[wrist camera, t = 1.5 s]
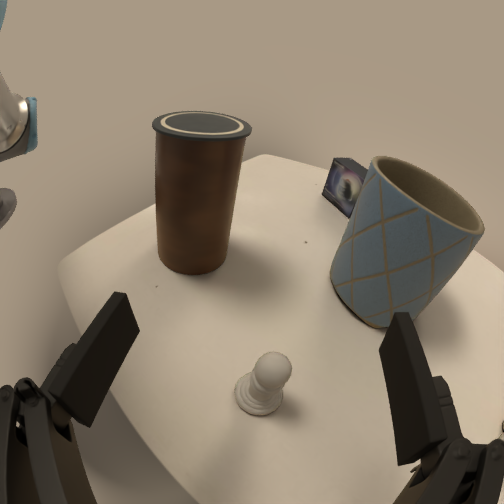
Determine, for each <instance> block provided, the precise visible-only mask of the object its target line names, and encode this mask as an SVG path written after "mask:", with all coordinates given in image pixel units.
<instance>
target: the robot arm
mask: <svg viewBox="0 0 504 504" xmlns="http://www.w3.org/2000/svg"><path fill="white" fill-rule="evenodd" d="M6 6H7V0H0V30H1V27H2V24H3V20H4V16H5V11H6ZM36 102H37V100H36V98H35V97H31V98H30V97H27V98H26V99H23V98H22V97H21V96H20V95H18V94H16V93H11V92H10V90H9V88H8V86H7V84H6V83H5V80H4V78H3V76H2V74H1V72H0V162H2V161H4V160H7V159H10V158H13V157H16V156H19V155H22V154H26V153H27V152H30V151H32V150H34V149H35V148H36V147H37V109H36V108H37V103H36ZM1 206H2V198H1V194H0V208H1ZM139 332H140V330H139V327H138V324H137V322H136V319H135V317H134V314H133V311H132V308H131V306H130V303H129V300H128V297H127V294H126V293H121V292H114V293H113V294H112V295H111V297H110V298H109V299H108V301H107V302H106V303H105V305H104V306H103V307H102V309H101V310H100V312H99V313H98V314H97V316H96V317H95V318H94V320H93V321H92V323H91V324H90V325H89V327H88V328H87V330H86V331H85V333H84V334H83V335H82V337H81V338H80V340H79V341H78V343H77V344H74V343H72V344H71V345H70V346H68V347H67V348H66V349H65V350H64V352H63V353H62V354H61V356H60V359H58V361H57V362H56V365H54V367H53V368H52V370H51V371H50V373H49V374H48V376H47V378H46V379H45V381H44V382H43V384H42V386H41V387H40V388H38V387H37V385H36V384H35V383H34V382H33V381H32V380H31V379H30V378H22V379H20V380H19V381H18V382H17V383H16V385H15V386H14V389H13V388H12V387H11V386H10V385H4V386H3V387H1V388H0V504H97V502H96V500H95V497H94V495H93V492H92V490H91V487H90V484H89V481H88V478H87V475H86V472H85V469H84V466H83V463H82V459H81V456H80V453H79V449H78V445H77V441H76V437H75V433H74V429H73V424H72V422H71V420H70V419H71V417H73V418H74V419H75V420H76V421H77V422H79V423H81V424H83V425H85V426H87V427H89V428H90V427H91V425H92V423H93V421H94V418H95V416H96V414H97V412H98V410H99V408H100V406H101V404H102V402H103V400H104V398H105V395H106V394H107V392H108V390H109V388H110V386H111V384H112V382H113V380H114V378H115V376H116V374H117V372H118V370H119V369H120V367H121V365H122V363H123V361H124V359H125V357H126V355H127V354H128V352H129V350H130V348H131V346H132V344H133V343H134V341H135V339H136V337H137V335H138V334H139ZM379 354H380V358H381V362H382V367H383V372H384V377H385V382H386V387H387V392H388V398H389V403H390V409H391V415H392V422H393V429H394V436H395V444H396V453H397V462H398V466H401V465H406V464H410V463H414V462H416V461H417V460H419V459H420V460H421V464H419V465H418V466H416V467H415V468H413V469H412V470H411V471H410V472H411V473H412V472H414V471H415V473H414V474H413V476H412V477H411V479H410V480H409V482H408V483H407V485H406V486H405V488H404V489H403V491H402V492H401V493H400V495H399V496H398V497H397V499H396V500H395V502H394V503H393V504H497V503H498V500H499V496H500V492H501V487H502V483H503V478H504V441H503V440H501V439H495V440H493V441H492V442H491V443H489V444H472V443H471V442H470V441H469V440H468V439H467V438H464V437H463V435H462V433H461V429H460V425H459V421H458V417H457V413H456V410H455V406H454V405H453V399H452V397H451V393H450V390H449V386H448V384H447V383H446V381H445V380H444V379H443V377H442V376H436V377H432V375H431V372H430V369H429V366H428V363H427V360H426V357H425V354H424V351H423V348H422V345H421V343H420V340H419V337H418V335H417V332H416V329H415V327H414V324H413V322H412V319H411V317H410V314H409V312H395V313H394V315H393V318H392V320H391V323H390V325H389V328H388V330H387V332H386V335H385V337H384V339H383V342H382V344H381V346H380V348H379ZM16 422H19V423H20V426H19V427H17V426H16Z"/></svg>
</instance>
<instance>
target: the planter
mask: <svg viewBox="0 0 504 504" xmlns="http://www.w3.org/2000/svg"><path fill="white" fill-rule="evenodd" d="M484 230H485V228H484V224H483V222H482V220H481V218H480V216H479V215H478V214H477V212H476V211H475V210H474V208H473V207H472V206H471V205H470V204H469V203H468V202H467V201H466V200H465V199H464V198H463V197H462V196H461V195H460V194H458V193H457V192H456V191H455V190H454V189H452V188H451V187H449V186H448V185H447V184H445V183H444V182H443V181H441V180H440V179H438V178H437V177H435V176H433V175H432V174H430V173H428V172H426V171H425V170H423V169H421V168H419V167H417V166H414V165H412V164H410V163H407V162H405V161H402V160H399V159H396V158H392V157H387V156H376V157H374V158H373V159H372V161H371V163H370V166H369V169H368V172H367V175H366V177H365V180H364V183H363V185H362V188H361V191H360V193H359V196H358V199H357V201H356V204H355V207H354V209H353V212H352V215H351V217H350V220H349V223H348V225H347V228H346V230H345V233H344V235H343V238H342V240H341V242H340V245H339V247H338V250H337V252H336V254H335V257H334V259H333V262H332V266H331V269H330V278H331V281H332V283H333V285H334V287H335V289H336V291H337V293H338V294H339V296H340V297H341V299H342V300H343V301H344V303H345V304H346V305H347V306H348V307H349V308H350V309H351V310H352V311H353V312H354V313H355V314H356V315H357V316H358V317H360V318H361V319H362V320H363V321H364V322H366V323H367V324H368V325H370V326H372V327H374V328H381V327H389V325H390V323H391V320H392V318H393V315H394V313H395V312H409V314H410V317H411V319H412V321H413V320H414V319H415V318H416V317H417V316H418V315H419V314H420V313H421V312H422V311H423V310H424V308H425V307H426V306H427V305H428V304H429V303H430V302H431V301H432V300H433V299H434V297H435V296H436V295H437V294H438V293H439V292H440V290H441V289H442V288H443V287H444V286H445V285H446V284H447V282H448V281H449V280H450V279H451V278H452V276H453V275H454V274H455V273H456V271H457V270H458V269H459V267H460V266H461V265H462V263H463V262H464V261H465V259H466V258H467V257H468V255H469V254H470V253H471V251H472V250H473V248H474V247H475V245H476V244H477V243H478V241H479V240H480V238H481V237H482V235H483V233H484Z"/></svg>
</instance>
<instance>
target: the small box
mask: <svg viewBox="0 0 504 504" xmlns="http://www.w3.org/2000/svg"><path fill="white" fill-rule="evenodd" d="M367 172H368V170H367V169H366V168H364V167H363V166H361V165H360V164H359V163H357V162H356V161H354V160H353V159H351V158H334V159H333V162H332V166H331V168H330V171H329V174H328V177H327V180H326V183H325V186H324V189H323V192H322V195H323V196H325V197H326V198H327V199H328V200H329V201H330V202H331V203H333V204H334V205H335V206H336V207H337V208H338V209H339V210H340V211H341V212H342V213H344V214H345V215H346V216H347V217H348V218H350V217H351V215H352V212H353V209H354V207H355V204H356V201H357V199H358V196H359V193H360V191H361V188H362V185H363V183H364V180H365V177H366V175H367Z"/></svg>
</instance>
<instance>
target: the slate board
mask: <svg viewBox="0 0 504 504" xmlns="http://www.w3.org/2000/svg"><path fill="white" fill-rule="evenodd" d="M152 127H153V129H154V130H155V131H156V132H158V133H160V134H163V135H166V136H169V137H173V138H178V139H184V140H193V141H212V142H214V141H232V140H238V139H242V138H245V137H247V136H249V135H250V134H251V131H252V127H251V126H250V125H249V124H248V123H247V122H245V121H243V120H241V119H238V118H236V117H232V116H229V115H224V114H219V113H213V112H203V111H183V112H174V113H169V114H165V115H162V116H159V117H157V118H156V119H154V121H153V122H152Z"/></svg>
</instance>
